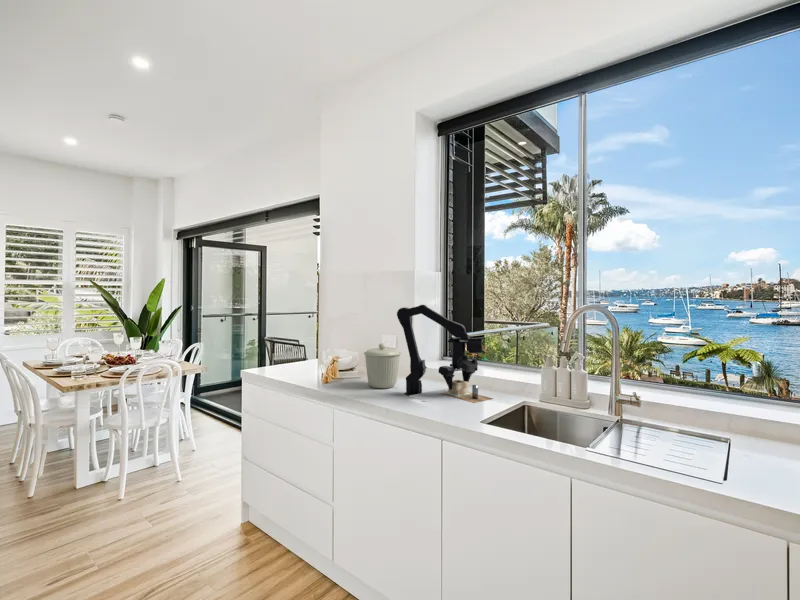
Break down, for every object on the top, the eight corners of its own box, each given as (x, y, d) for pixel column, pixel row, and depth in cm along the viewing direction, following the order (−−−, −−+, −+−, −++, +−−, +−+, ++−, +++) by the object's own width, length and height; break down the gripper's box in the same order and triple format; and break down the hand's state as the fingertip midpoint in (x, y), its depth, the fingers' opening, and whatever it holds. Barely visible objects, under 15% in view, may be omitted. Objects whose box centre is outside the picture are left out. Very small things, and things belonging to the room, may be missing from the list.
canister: (388, 392, 193) (388, 346, 193) (356, 387, 202) (356, 343, 202) (407, 385, 209) (407, 342, 208) (376, 381, 218) (376, 340, 217)
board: (473, 406, 169) (474, 402, 169) (440, 396, 185) (440, 392, 185) (493, 402, 176) (494, 398, 176) (459, 393, 192) (459, 389, 192)
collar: (458, 395, 180) (458, 383, 180) (448, 392, 185) (448, 381, 185) (467, 393, 184) (468, 382, 184) (458, 390, 189) (458, 379, 189)
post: (475, 399, 175) (475, 386, 175) (471, 398, 177) (471, 385, 177) (479, 398, 176) (479, 385, 176) (475, 397, 178) (475, 384, 178)
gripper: (456, 356, 172) (455, 394, 173) (487, 353, 184) (486, 388, 184) (437, 353, 181) (437, 389, 182) (468, 350, 193) (468, 384, 193)
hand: (458, 388), depth 185 cm, fingers open, 9 cm apart
